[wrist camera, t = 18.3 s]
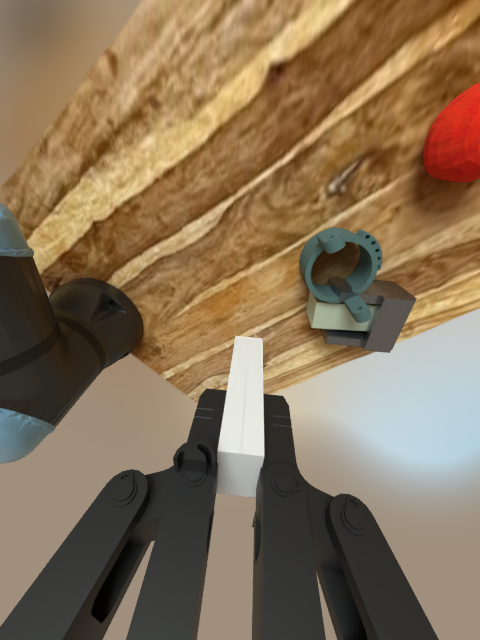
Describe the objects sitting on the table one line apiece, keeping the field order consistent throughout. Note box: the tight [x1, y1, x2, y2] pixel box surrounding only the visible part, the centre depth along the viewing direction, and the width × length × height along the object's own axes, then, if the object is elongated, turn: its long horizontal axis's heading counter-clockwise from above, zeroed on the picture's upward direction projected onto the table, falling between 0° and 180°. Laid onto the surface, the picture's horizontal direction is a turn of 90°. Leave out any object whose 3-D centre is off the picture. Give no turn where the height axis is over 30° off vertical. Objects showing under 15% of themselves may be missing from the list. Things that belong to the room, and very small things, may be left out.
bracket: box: [300, 227, 382, 323], centre depth 29 cm, size 9×9×9 cm
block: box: [306, 292, 378, 331], centre depth 34 cm, size 10×4×5 cm, turn 88°
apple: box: [423, 83, 480, 182], centre depth 23 cm, size 8×8×7 cm
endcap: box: [320, 276, 417, 353], centre depth 33 cm, size 9×8×7 cm
